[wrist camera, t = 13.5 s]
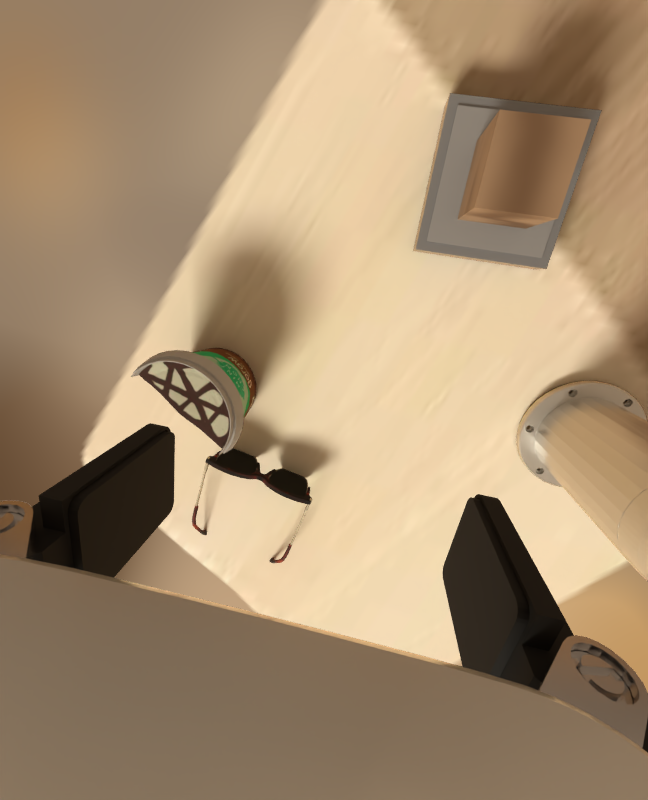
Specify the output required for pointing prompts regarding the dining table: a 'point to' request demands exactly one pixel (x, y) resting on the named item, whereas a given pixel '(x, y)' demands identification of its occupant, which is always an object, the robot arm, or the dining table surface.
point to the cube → (522, 169)
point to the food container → (205, 389)
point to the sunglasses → (250, 469)
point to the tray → (450, 177)
